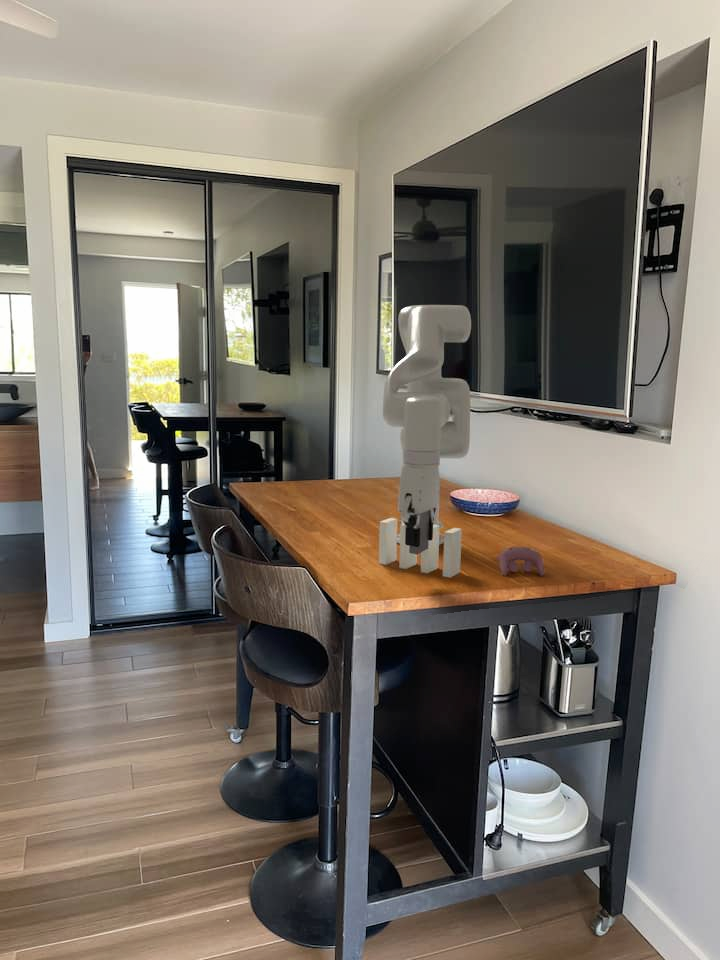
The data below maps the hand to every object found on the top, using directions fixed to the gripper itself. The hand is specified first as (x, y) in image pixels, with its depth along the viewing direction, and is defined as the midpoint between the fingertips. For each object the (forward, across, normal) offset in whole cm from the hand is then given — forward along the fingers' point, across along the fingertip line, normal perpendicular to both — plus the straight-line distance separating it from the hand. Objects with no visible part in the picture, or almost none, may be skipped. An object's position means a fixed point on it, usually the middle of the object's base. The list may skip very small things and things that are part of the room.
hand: (419, 541), depth 151 cm
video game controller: (+10, -20, +15) cm, 27 cm away
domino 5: (+9, -10, +3) cm, 14 cm away
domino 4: (+9, -10, -2) cm, 14 cm away
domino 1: (+10, -10, -13) cm, 19 cm away
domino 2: (+10, -10, -8) cm, 16 cm away
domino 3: (+2, 0, 0) cm, 2 cm away
